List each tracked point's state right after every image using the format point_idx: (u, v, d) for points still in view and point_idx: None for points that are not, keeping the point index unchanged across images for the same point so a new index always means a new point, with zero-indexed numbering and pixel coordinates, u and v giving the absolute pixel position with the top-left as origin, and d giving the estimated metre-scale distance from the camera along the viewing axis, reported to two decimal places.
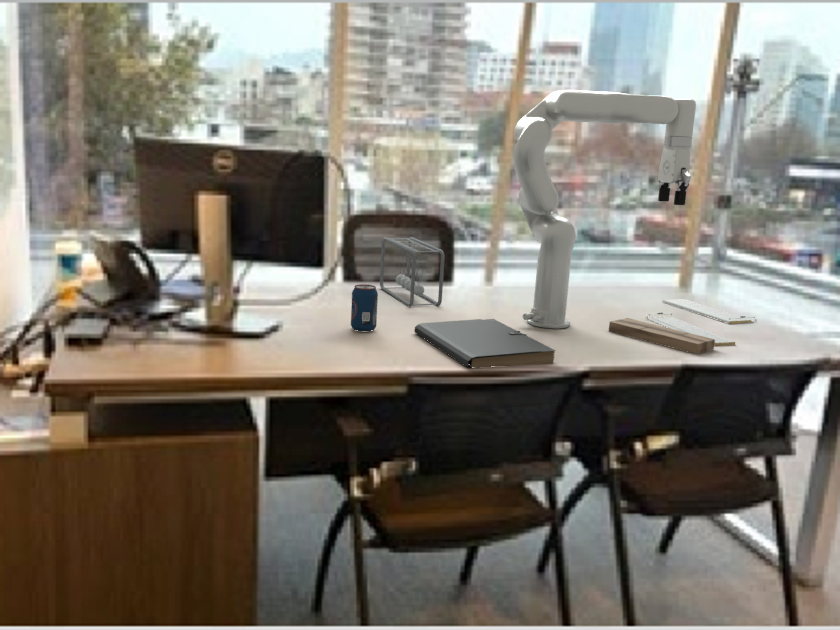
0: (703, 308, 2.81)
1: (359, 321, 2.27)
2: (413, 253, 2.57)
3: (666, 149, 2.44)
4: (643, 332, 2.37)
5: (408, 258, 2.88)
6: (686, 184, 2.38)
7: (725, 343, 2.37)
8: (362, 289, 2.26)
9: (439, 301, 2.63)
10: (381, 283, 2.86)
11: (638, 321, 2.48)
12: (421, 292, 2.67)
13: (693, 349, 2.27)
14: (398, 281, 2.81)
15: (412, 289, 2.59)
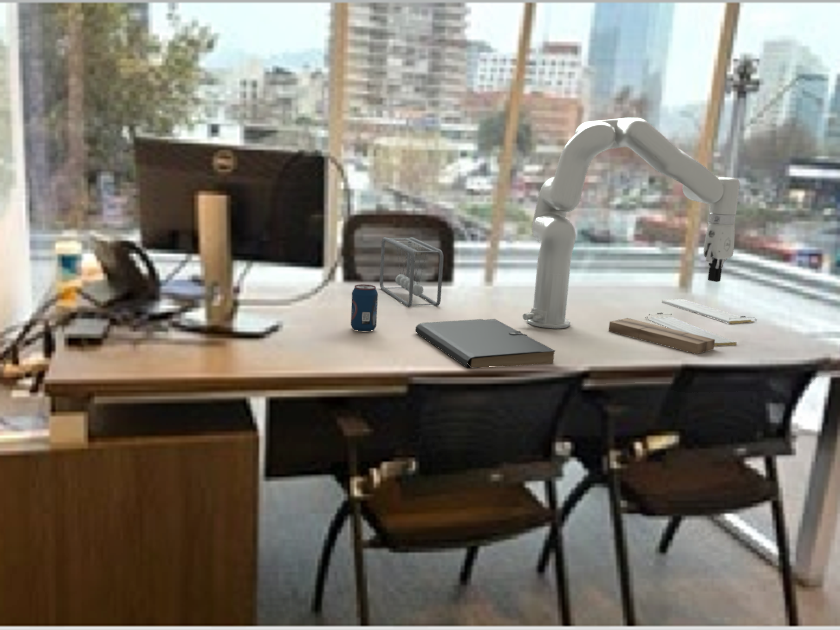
0: (703, 308, 2.81)
1: (359, 321, 2.27)
2: (412, 253, 2.57)
3: (726, 227, 2.48)
4: (643, 332, 2.37)
5: (408, 258, 2.88)
6: None
7: (726, 343, 2.37)
8: (362, 289, 2.26)
9: (438, 301, 2.63)
10: (381, 283, 2.86)
11: (638, 321, 2.48)
12: (420, 292, 2.66)
13: (693, 349, 2.27)
14: (398, 281, 2.81)
15: (411, 289, 2.59)
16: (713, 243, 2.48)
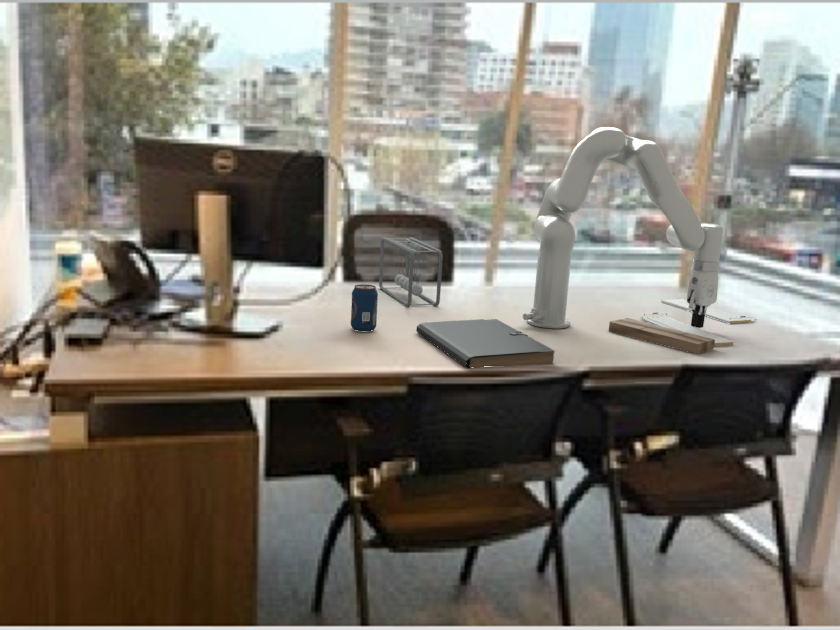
0: None
1: (359, 321, 2.27)
2: (411, 253, 2.57)
3: (710, 274, 2.48)
4: (643, 332, 2.37)
5: (407, 258, 2.87)
6: None
7: (723, 343, 2.37)
8: (362, 289, 2.26)
9: (437, 301, 2.63)
10: (380, 283, 2.86)
11: (638, 321, 2.48)
12: (419, 292, 2.66)
13: (693, 349, 2.27)
14: (397, 281, 2.80)
15: (410, 289, 2.59)
16: (696, 290, 2.47)
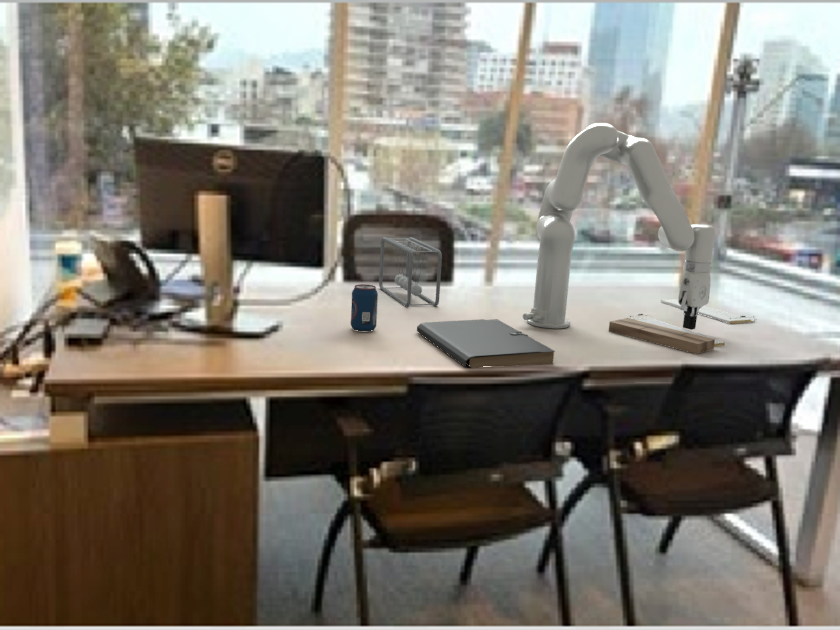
0: (702, 308, 2.81)
1: (359, 321, 2.27)
2: (410, 253, 2.57)
3: (702, 275, 2.44)
4: (643, 332, 2.37)
5: (407, 258, 2.87)
6: None
7: (715, 344, 2.36)
8: (362, 289, 2.26)
9: (436, 301, 2.63)
10: (380, 283, 2.86)
11: (638, 321, 2.48)
12: (419, 292, 2.66)
13: (693, 349, 2.27)
14: (397, 281, 2.80)
15: (409, 289, 2.59)
16: (688, 291, 2.44)
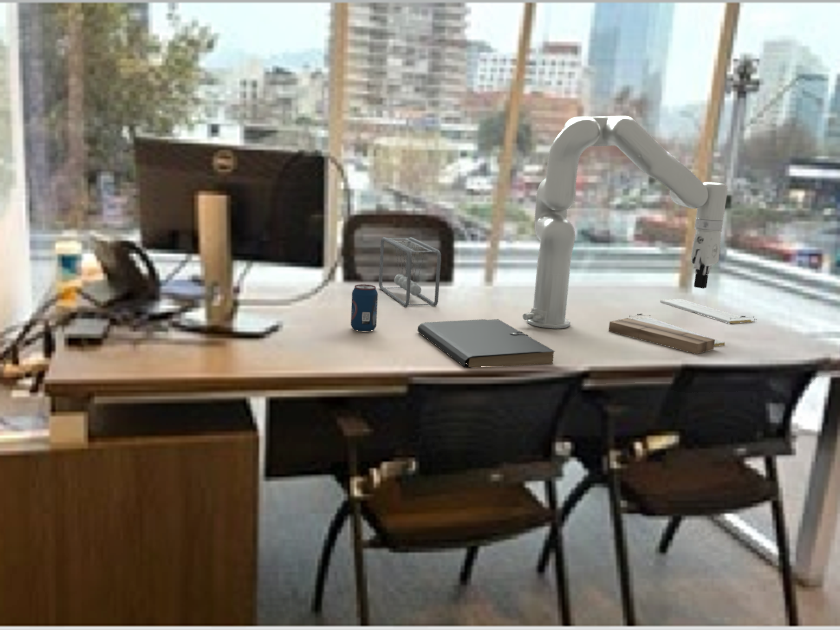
0: (702, 308, 2.81)
1: (359, 321, 2.27)
2: (409, 253, 2.57)
3: (714, 233, 2.44)
4: (643, 332, 2.37)
5: (407, 258, 2.87)
6: None
7: (716, 344, 2.36)
8: (362, 289, 2.26)
9: (435, 301, 2.63)
10: (380, 283, 2.86)
11: (638, 321, 2.48)
12: (418, 292, 2.66)
13: (693, 349, 2.27)
14: (396, 281, 2.80)
15: (408, 289, 2.59)
16: (702, 249, 2.43)
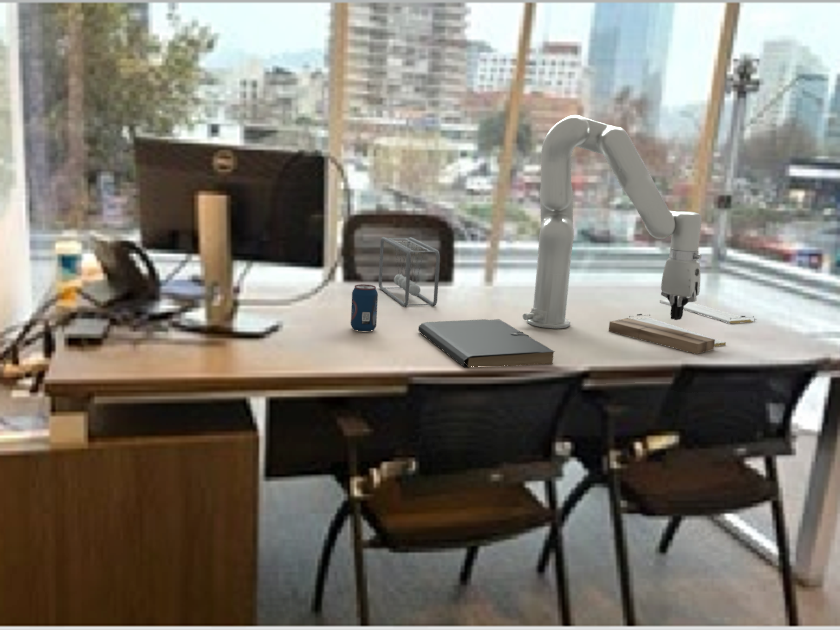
0: (701, 308, 2.81)
1: (359, 321, 2.27)
2: (408, 253, 2.57)
3: None
4: (643, 332, 2.37)
5: None
6: None
7: (717, 344, 2.36)
8: (362, 289, 2.26)
9: (434, 301, 2.63)
10: (380, 283, 2.86)
11: (638, 321, 2.48)
12: (417, 292, 2.66)
13: (693, 349, 2.27)
14: (396, 281, 2.80)
15: (407, 289, 2.59)
16: (698, 281, 2.39)
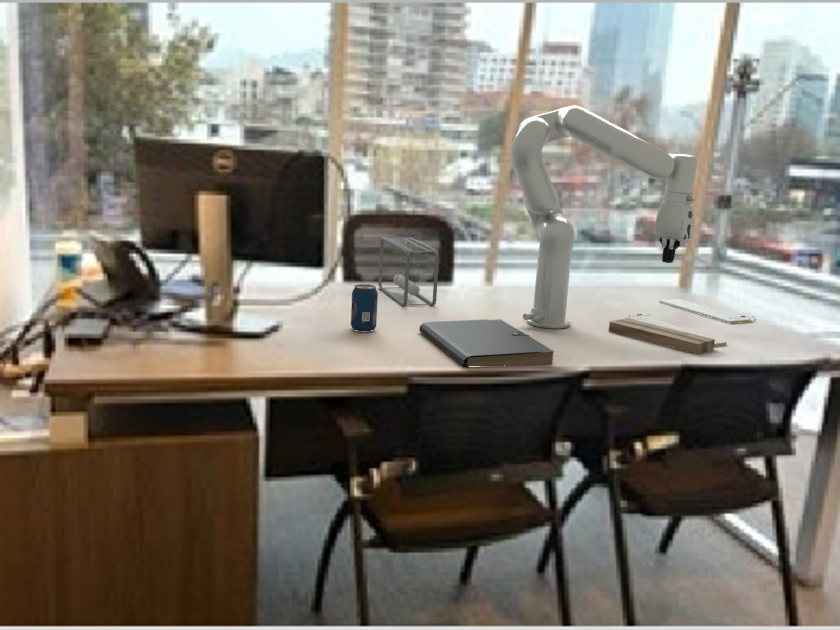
0: (701, 308, 2.81)
1: (359, 321, 2.27)
2: (407, 253, 2.57)
3: None
4: (643, 332, 2.37)
5: None
6: None
7: (718, 344, 2.36)
8: (362, 289, 2.26)
9: (433, 301, 2.63)
10: (379, 283, 2.86)
11: (638, 321, 2.48)
12: (416, 292, 2.66)
13: (693, 349, 2.27)
14: (395, 281, 2.80)
15: (406, 289, 2.59)
16: (691, 224, 2.40)
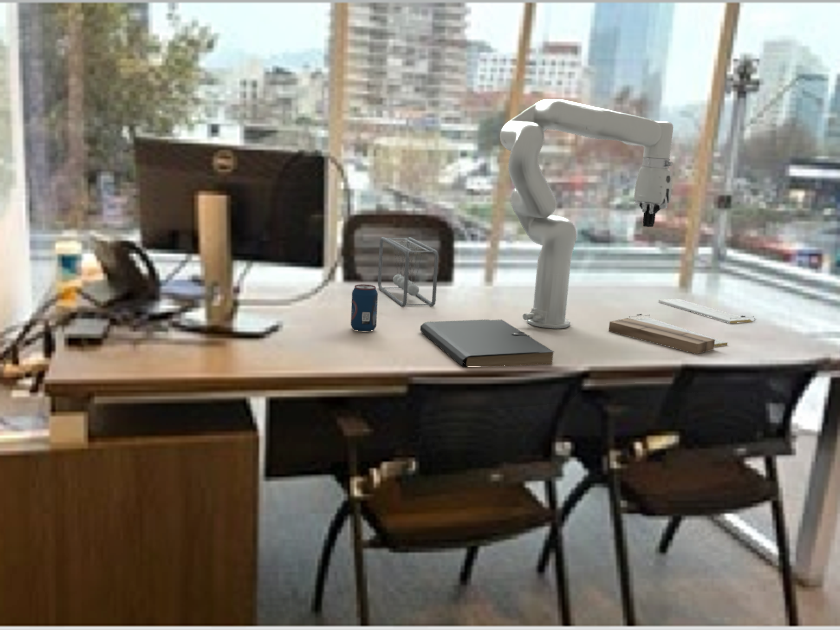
0: (701, 308, 2.81)
1: (359, 321, 2.27)
2: (406, 253, 2.57)
3: None
4: (643, 332, 2.37)
5: None
6: None
7: (719, 344, 2.36)
8: (362, 289, 2.26)
9: (433, 301, 2.63)
10: (379, 283, 2.86)
11: (638, 321, 2.48)
12: (415, 292, 2.66)
13: (693, 349, 2.27)
14: (395, 281, 2.80)
15: (405, 289, 2.59)
16: (669, 188, 2.49)
